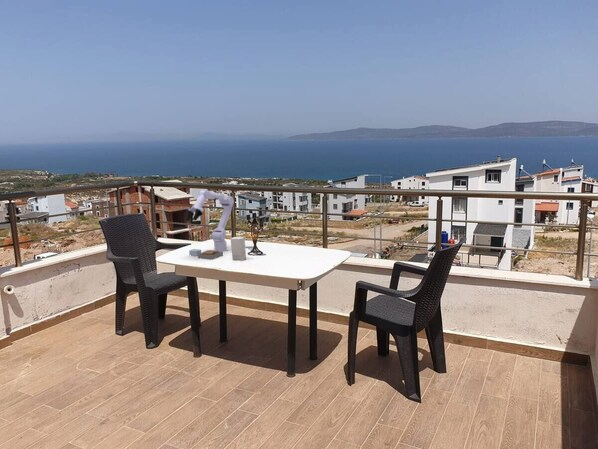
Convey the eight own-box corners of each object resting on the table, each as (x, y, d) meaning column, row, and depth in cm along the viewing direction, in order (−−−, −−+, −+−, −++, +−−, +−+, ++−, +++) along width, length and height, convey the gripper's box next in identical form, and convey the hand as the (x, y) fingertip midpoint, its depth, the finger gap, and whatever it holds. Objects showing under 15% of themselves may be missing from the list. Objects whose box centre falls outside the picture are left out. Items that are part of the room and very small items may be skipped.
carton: (194, 255, 323) (193, 249, 322) (201, 256, 320) (201, 249, 319) (189, 257, 319) (189, 250, 318) (197, 257, 316) (196, 251, 315)
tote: (209, 255, 321) (209, 250, 321) (223, 256, 315) (222, 252, 315) (198, 259, 310) (197, 254, 310) (212, 260, 304) (211, 255, 304)
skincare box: (246, 258, 308) (245, 236, 306) (242, 260, 302) (241, 238, 299) (235, 257, 310) (234, 236, 308) (231, 260, 304) (230, 238, 302)
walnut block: (209, 255, 318) (209, 249, 317) (218, 256, 314) (218, 250, 314) (202, 257, 311) (202, 252, 310) (211, 258, 307) (211, 253, 307)
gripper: (188, 201, 311) (180, 217, 305) (201, 200, 302) (193, 216, 296) (195, 207, 316) (187, 222, 309) (208, 206, 307) (200, 222, 301)
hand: (190, 220), depth 303 cm, fingers open, 7 cm apart
